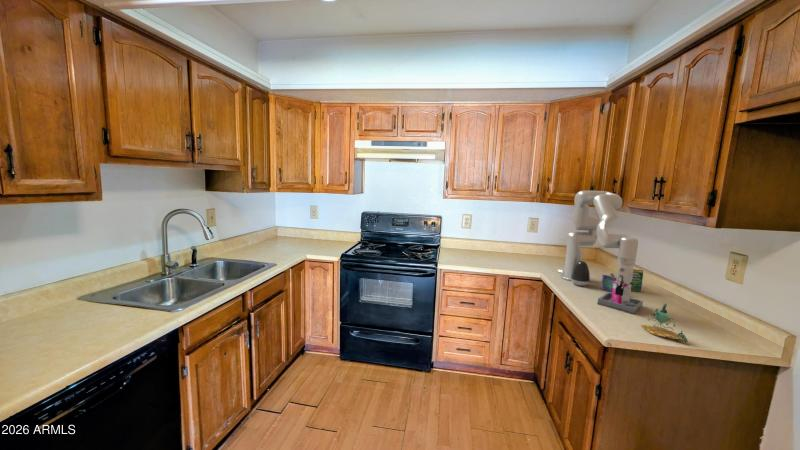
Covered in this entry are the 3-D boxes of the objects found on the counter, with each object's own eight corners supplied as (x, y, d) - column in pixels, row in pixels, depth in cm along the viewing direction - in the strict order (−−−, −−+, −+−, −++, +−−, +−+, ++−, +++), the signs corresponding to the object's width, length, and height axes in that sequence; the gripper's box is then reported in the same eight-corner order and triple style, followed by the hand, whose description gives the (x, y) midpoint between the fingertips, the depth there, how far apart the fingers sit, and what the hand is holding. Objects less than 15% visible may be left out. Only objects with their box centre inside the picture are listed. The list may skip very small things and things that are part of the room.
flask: (599, 289, 186) (602, 270, 185) (602, 288, 188) (605, 270, 186) (616, 295, 177) (619, 275, 176) (620, 294, 179) (622, 275, 177)
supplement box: (621, 301, 165) (624, 281, 163) (629, 306, 159) (632, 284, 157) (610, 301, 165) (613, 280, 164) (617, 305, 159) (620, 284, 158)
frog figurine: (676, 347, 121) (677, 310, 121) (632, 330, 139) (633, 298, 138) (695, 345, 124) (696, 308, 123) (649, 328, 141) (650, 296, 140)
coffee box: (624, 290, 186) (627, 269, 184) (623, 288, 189) (626, 267, 187) (641, 292, 183) (644, 271, 181) (639, 291, 185) (642, 269, 184)
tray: (597, 304, 163) (598, 298, 162) (607, 297, 173) (607, 292, 173) (634, 314, 151) (635, 308, 150) (642, 306, 161) (643, 301, 161)
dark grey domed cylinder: (586, 282, 197) (588, 259, 195) (591, 288, 188) (594, 264, 185) (568, 281, 200) (571, 258, 198) (572, 286, 190) (575, 262, 188)
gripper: (630, 265, 150) (625, 298, 153) (639, 260, 161) (634, 291, 164) (612, 262, 156) (608, 294, 158) (622, 257, 167) (617, 287, 170)
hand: (621, 292), depth 161 cm, fingers open, 9 cm apart
